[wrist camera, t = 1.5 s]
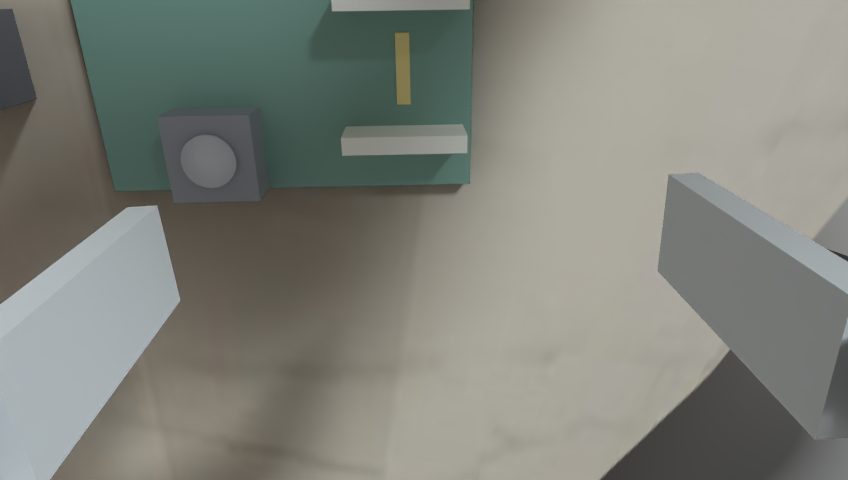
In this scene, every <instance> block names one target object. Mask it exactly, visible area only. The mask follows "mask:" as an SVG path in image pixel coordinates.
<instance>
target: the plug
mask: <svg viewBox="0 0 848 480" xmlns="http://www.w3.org/2000/svg"><path fill="white" fill-rule="evenodd" d="M35 99H37V98H36V95H35V91H34V87H33V84H32V80H31V76H30V73H29V69H28V65H27V61H26V58H25V54H24V50H23V47H22V43H21V39H20V36H19V32H18V28H17V25H16V21H15V17H14V14H13V10H12V9H0V109H4V108H7V107H11V106H14V105H17V104H21V103H24V102H28V101H31V100H35Z"/></svg>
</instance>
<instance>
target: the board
mask: <svg viewBox="0 0 848 480" xmlns="http://www.w3.org/2000/svg"><path fill="white" fill-rule="evenodd" d="M70 1H71V5H72V10H73V14H74V18H75V22H76V27H77V31H78V35H79V39H80V44H81V48H82V52H83V57H84V61H85V65H86V69H87V74H88V78H89V82H90V86H91V91H92V95H93V99H94V104H95V108H96V112H97V116H98V121H99V125H100V129H101V134H102V138H103V142H104V146H105V151H106V155H107V159H108V163H109V168H110V172H111V176H112V181H113V185H114V189H115V191H154V190H171V192H172V197H173V203H208V202H253V201H261V199H262V198H263V197H264V195H265V194H266V192H267V191H268V189H269V188H292V187H338V186H384V185H431V184H470V149H471V96H472V42H473V0H70Z"/></svg>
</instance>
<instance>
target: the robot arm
mask: <svg viewBox="0 0 848 480" xmlns="http://www.w3.org/2000/svg"><path fill="white" fill-rule="evenodd" d="M658 272H659V273H660V274H661V275H662V276H663V277H664V278H665V279H666V280H667V281H668V283H669V284H670V285H671V286H672V287H673V288H674V289H675V290H676V291H677V292H678V293H679V294H680V295H681V296H682V298H683V299H684V300H685V301H686V302H687V303H688V304H689V305H690V306H691V307H692V308H693V309H694V310H695V312H696V313H697V314H698V315H699V316H700V317H701V318H702V319H703V320H704V321H705V322H706V323H707V324H708V325H709V327H710V328H711V329H712V330H713V331H714V332H715V333H716V334H717V335H718V336H719V337H720V338H721V339H722V340H723V342H724V343H725V344H726V345H727V346H728V347H729V348H730V349H731V350H732V351H733V352H734V353H735V354H736V355H737V357H738V358H739V359H740V360H741V361H742V362H743V363H744V364H745V365H746V366H747V367H748V368H749V369H750V371H751V372H752V373H753V374H754V375H755V376H756V377H757V378H758V379H759V380H760V381H761V382H762V383H763V384H764V385H765V387H766V388H767V389H768V390H769V391H770V392H771V393H772V394H773V395H774V396H775V397H776V398H777V399H778V400H779V402H780V403H781V404H782V405H783V406H784V407H785V408H786V409H787V410H788V411H789V412H790V413H791V414H792V416H793V417H794V418H795V419H796V420H797V421H798V422H799V423H800V424H801V425H802V426H803V427H804V428H805V430H807V432H808V433H809V434H810V435H811V436H812V437H813V438H814V439H815V440H822V439H836V438H837V439H838V438H848V257H847V256H845V255H843V254H840V253H837V252H834V251H831V250H828V249H826V248H824V247H822V246H821V245H819V244H817V243H816V242H814V241H812V240H811V239H809V238H807V237H805V236H804V235H802V234H800V233H799V232H797V231H795V230H794V229H792V228H790V227H789V226H787V225H785V224H784V223H782V222H780V221H779V220H777V219H775V218H774V217H772V216H770V215H768V214H767V213H765V212H763V211H762V210H760V209H758V208H757V207H755V206H753V205H752V204H750V203H748V202H747V201H745V200H743V199H742V198H740V197H738V196H737V195H735V194H733V193H731V192H730V191H728V190H726V189H725V188H723V187H721V186H720V185H718V184H716V183H715V182H713V181H711V180H710V179H708V178H706V177H705V176H703V175H701V174H700V173H685V174H669V176H668V185H667V194H666V202H665V211H664V220H663V228H662V237H661V246H660V254H659V263H658ZM179 302H180V297H179V293H178V288H177V284H176V280H175V276H174V272H173V268H172V264H171V260H170V256H169V251H168V247H167V243H166V239H165V235H164V231H163V227H162V223H161V219H160V214H159V210H158V206H157V205H156V206H139V207H127V208H125V209H124V210H123V211H122V212H120V213H119V214H118V215H116V216H115V217H114V218H112V219H111V220H110V221H108V222H107V223H106V224H105V225H103V226H102V227H101V228H99V229H98V230H97V231H95V232H94V233H93V234H92V235H90V236H89V237H88V238H86V239H85V240H84V241H82V242H81V243H80V244H78V245H77V246H76V247H75V248H73V249H72V250H71V251H69V252H68V253H67V254H65V255H64V256H63V257H61V258H60V259H59V260H58V261H56V262H55V263H54V264H52V265H51V266H50V267H48V268H47V269H46V270H45V271H43V272H42V273H41V274H39V275H38V276H37V277H35V278H34V279H33V280H31V281H30V282H29V283H28V284H26V285H25V286H24V287H22V288H21V289H20V290H18V291H17V292H16V293H15V294H13V295H12V296H11V297H9V298H8V299H7V300H5V301H4V302H3V303H1V304H0V480H50V479H51V478H52V476H53V475H54V473H55V472H56V471H57V469H58V468H59V467H60V465H61V464H62V462H63V461H64V460H65V458H66V457H67V456H68V454H69V453H70V452H71V450H72V449H73V447H74V446H75V445H76V443H77V442H78V441H79V439H80V438H81V436H82V435H83V434H84V432H85V431H86V430H87V428H88V427H89V425H90V424H91V423H92V421H93V420H94V419H95V417H96V416H97V414H98V413H99V412H100V410H101V409H102V408H103V406H104V405H105V403H106V402H107V401H108V399H109V398H110V397H111V395H112V394H113V393H114V391H115V390H116V388H117V387H118V386H119V384H120V383H121V382H122V380H123V379H124V377H125V376H126V375H127V373H128V372H129V371H130V369H131V368H132V366H133V365H134V364H135V362H136V361H137V360H138V358H139V357H140V355H141V354H142V353H143V351H144V350H145V349H146V347H147V346H148V344H149V343H150V342H151V340H152V339H153V338H154V336H155V335H156V333H157V332H158V331H159V329H160V328H161V327H162V325H163V324H164V323H165V321H166V320H167V318H168V317H169V316H170V314H171V313H172V312H173V310H174V309H175V307H176V306H177V305H178V303H179Z"/></svg>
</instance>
